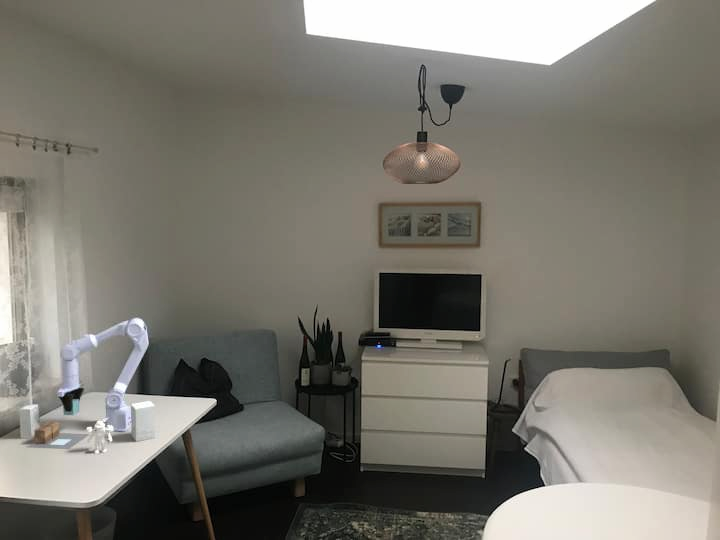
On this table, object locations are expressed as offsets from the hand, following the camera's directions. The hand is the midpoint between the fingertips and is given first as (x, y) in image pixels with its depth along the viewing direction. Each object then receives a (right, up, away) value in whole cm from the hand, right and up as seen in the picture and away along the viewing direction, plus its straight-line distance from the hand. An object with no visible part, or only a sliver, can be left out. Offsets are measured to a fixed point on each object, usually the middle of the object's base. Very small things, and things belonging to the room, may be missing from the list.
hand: (71, 409), depth 222 cm
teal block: (0, -2, 0) cm, 2 cm away
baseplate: (+1, -10, -11) cm, 14 cm away
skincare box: (-13, -10, -6) cm, 17 cm away
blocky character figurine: (+19, -11, -18) cm, 28 cm away
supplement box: (+29, -10, -4) cm, 31 cm away
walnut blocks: (-4, -9, -10) cm, 14 cm away
